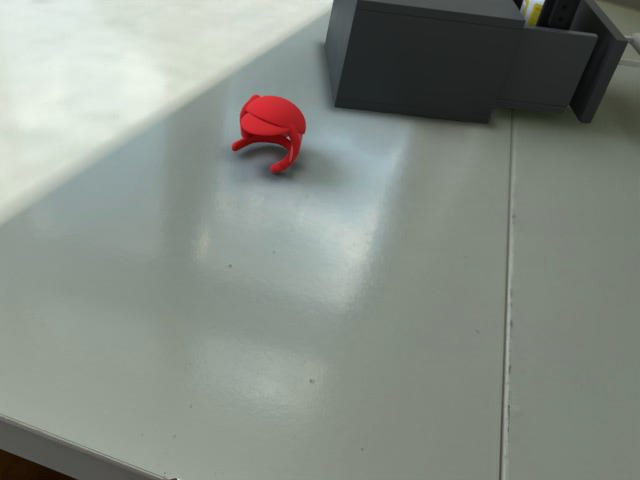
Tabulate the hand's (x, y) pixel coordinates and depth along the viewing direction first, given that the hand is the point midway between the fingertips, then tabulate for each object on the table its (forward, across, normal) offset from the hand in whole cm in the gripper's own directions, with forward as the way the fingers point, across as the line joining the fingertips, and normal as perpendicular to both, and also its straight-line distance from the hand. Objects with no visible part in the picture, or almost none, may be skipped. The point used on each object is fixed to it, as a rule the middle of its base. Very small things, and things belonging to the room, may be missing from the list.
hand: (542, 20), depth 79 cm
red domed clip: (+8, -18, +27) cm, 34 cm away
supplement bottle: (+4, 0, 0) cm, 4 cm away
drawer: (+8, 0, -2) cm, 8 cm away
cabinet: (+8, 0, +12) cm, 15 cm away
